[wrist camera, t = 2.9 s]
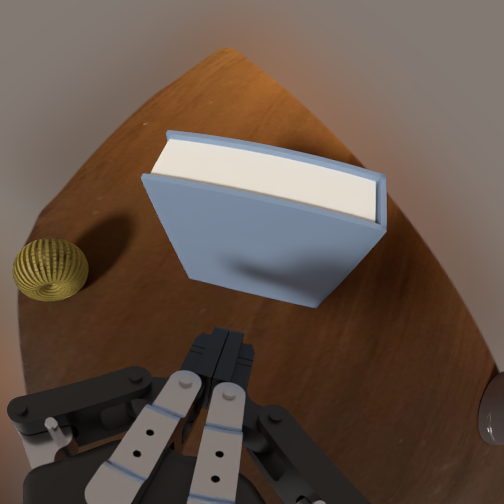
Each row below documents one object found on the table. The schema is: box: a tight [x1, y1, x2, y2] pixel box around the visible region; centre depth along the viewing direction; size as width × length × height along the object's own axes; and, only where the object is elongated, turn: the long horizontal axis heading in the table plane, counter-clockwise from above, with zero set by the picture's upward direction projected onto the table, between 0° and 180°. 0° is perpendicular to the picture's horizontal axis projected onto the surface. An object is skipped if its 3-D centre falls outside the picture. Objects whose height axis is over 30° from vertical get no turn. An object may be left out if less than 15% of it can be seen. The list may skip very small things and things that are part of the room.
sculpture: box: [13, 238, 89, 301], centre depth 23 cm, size 8×4×8 cm, turn 112°
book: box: [141, 130, 387, 308], centre depth 21 cm, size 4×12×15 cm, turn 76°
